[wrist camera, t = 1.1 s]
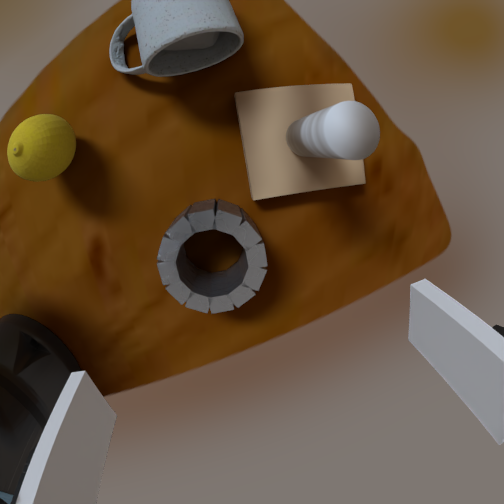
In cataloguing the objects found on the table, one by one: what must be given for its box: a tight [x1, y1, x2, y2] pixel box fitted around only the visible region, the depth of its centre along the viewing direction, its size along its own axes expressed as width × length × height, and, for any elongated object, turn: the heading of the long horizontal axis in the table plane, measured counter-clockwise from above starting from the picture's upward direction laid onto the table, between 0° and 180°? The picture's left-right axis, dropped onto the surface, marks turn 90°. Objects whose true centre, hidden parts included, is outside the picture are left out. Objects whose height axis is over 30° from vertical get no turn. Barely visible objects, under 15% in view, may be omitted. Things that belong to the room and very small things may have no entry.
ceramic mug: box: [110, 0, 244, 77], centre depth 17 cm, size 11×8×8 cm
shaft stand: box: [234, 84, 380, 200], centre depth 19 cm, size 10×9×11 cm
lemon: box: [7, 114, 76, 181], centre depth 18 cm, size 6×6×8 cm
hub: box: [157, 199, 268, 314], centre depth 24 cm, size 8×8×5 cm
